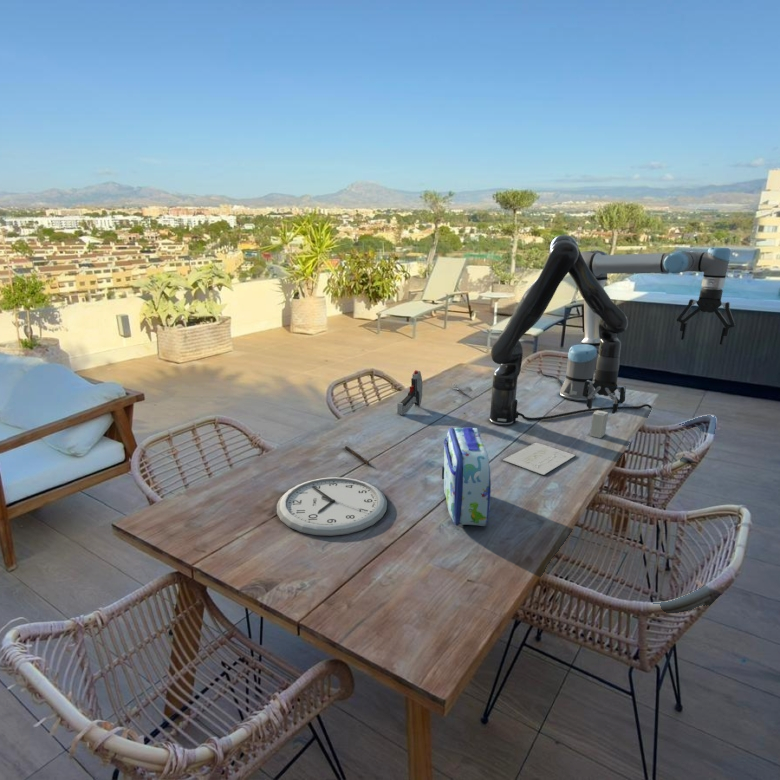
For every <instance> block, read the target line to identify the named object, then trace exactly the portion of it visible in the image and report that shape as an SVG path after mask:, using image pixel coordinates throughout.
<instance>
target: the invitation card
mask: <svg viewBox="0 0 780 780" xmlns="http://www.w3.org/2000/svg"><path fill="white" fill-rule="evenodd" d="M576 456H577V455H576V454H573V453H570V452H567V451H565V450H561V449H558V448H555V447H552V446H549V445H546V444H543V443H539V442H534V443H532V444H529V445H528V446H526V447H524V448H522V449H520V450H518V451H516V452H514V453H512V454H510V455H509V456H507V457H505V458H503V459H502V461H503V462H506V463H509V464H511V465H514V466H518V467H520V468H523V469H525V470H528V471H531V472H534V473H536V474H539V475H541V476H545V475H547V474H548V473H550V472H552V471H554V469H556V468H558V467H559V466H561V465H563V464H564V463H566V462H568V461H570V460H571V459H572V458H574V457H576Z"/></svg>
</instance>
